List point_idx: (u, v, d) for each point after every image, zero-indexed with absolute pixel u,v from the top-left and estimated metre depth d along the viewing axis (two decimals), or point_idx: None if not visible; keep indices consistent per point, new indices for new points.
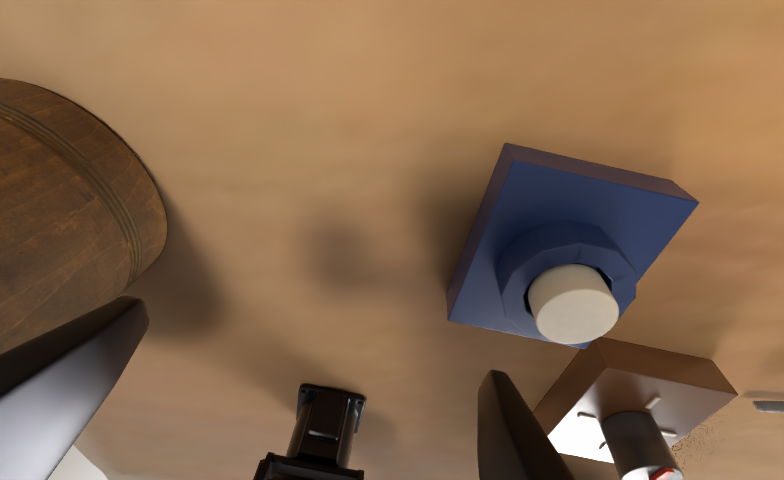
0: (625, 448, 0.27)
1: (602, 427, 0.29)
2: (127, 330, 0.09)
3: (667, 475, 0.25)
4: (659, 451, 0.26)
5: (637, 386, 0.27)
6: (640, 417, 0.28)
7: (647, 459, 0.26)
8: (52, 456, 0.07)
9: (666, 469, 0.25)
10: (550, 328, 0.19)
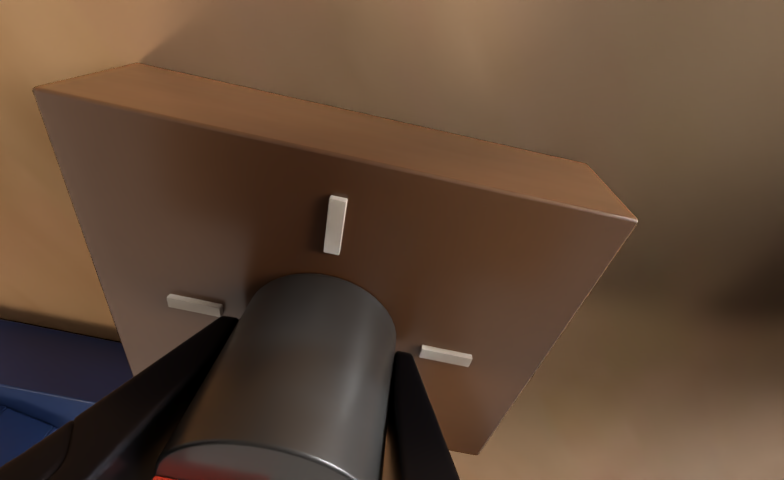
0: None
1: None
2: None
3: None
4: None
5: (159, 341, 0.11)
6: None
7: None
8: None
9: None
10: None
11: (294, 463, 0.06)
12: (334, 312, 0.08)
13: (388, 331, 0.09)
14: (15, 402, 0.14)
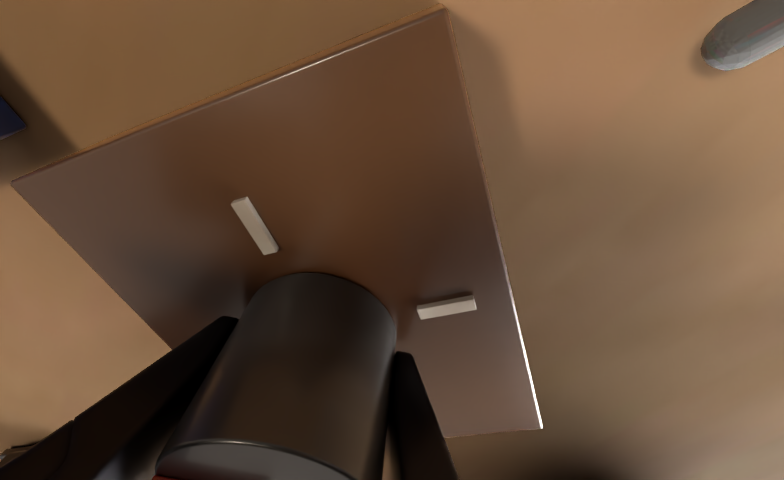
0: None
1: None
2: None
3: None
4: None
5: (148, 196, 0.08)
6: None
7: None
8: None
9: None
10: None
11: (294, 463, 0.06)
12: (334, 311, 0.08)
13: (388, 330, 0.09)
14: None
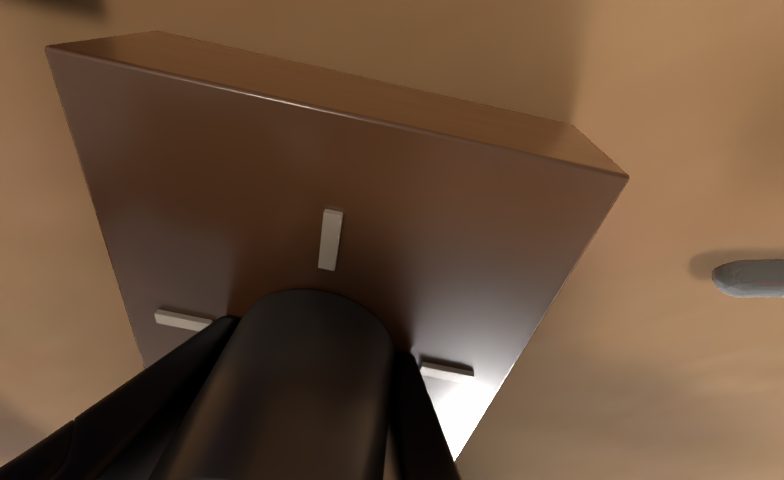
0: None
1: None
2: None
3: None
4: None
5: (231, 158, 0.07)
6: None
7: None
8: None
9: None
10: None
11: None
12: (328, 331, 0.07)
13: (386, 348, 0.08)
14: None
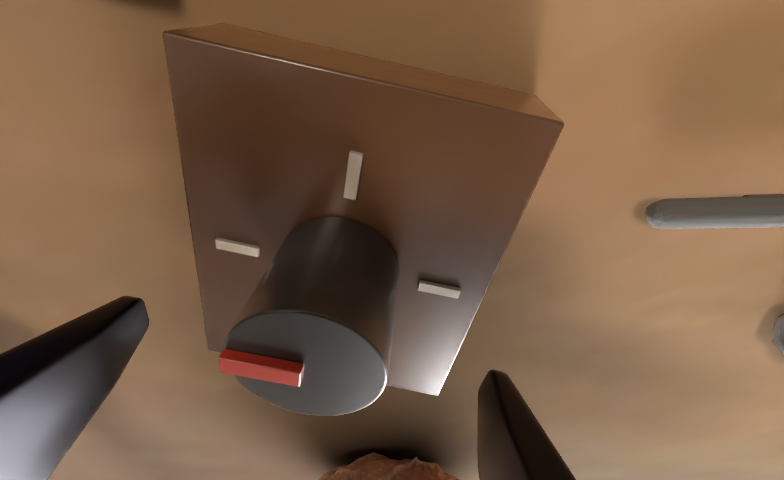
0: None
1: None
2: (127, 330, 0.09)
3: (240, 368, 0.09)
4: None
5: (285, 112, 0.09)
6: None
7: None
8: (52, 456, 0.07)
9: None
10: None
11: (328, 328, 0.08)
12: (351, 241, 0.10)
13: (393, 262, 0.11)
14: None
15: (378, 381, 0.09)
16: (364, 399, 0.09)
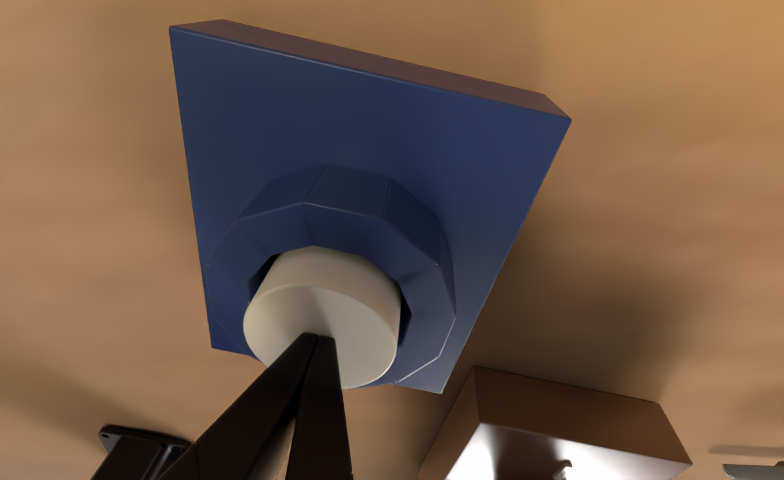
0: None
1: None
2: None
3: None
4: None
5: (533, 449, 0.17)
6: None
7: None
8: None
9: None
10: None
11: None
12: None
13: None
14: None
15: None
16: None
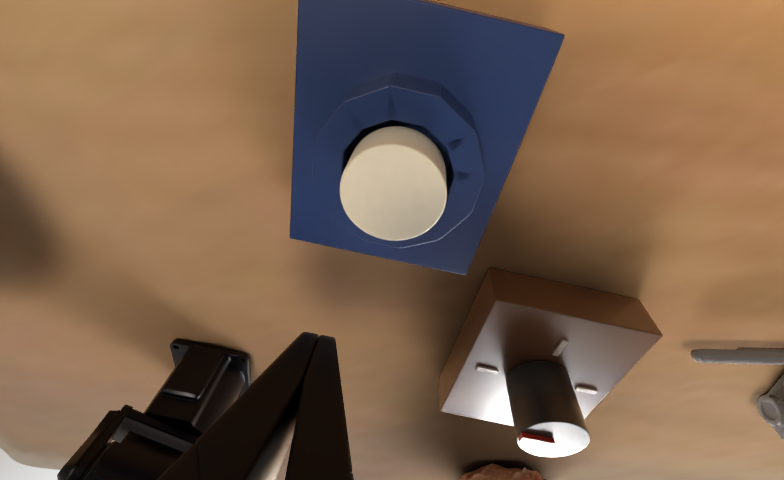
0: None
1: None
2: None
3: (529, 440, 0.21)
4: (514, 418, 0.22)
5: (537, 325, 0.21)
6: (507, 383, 0.24)
7: None
8: None
9: (519, 439, 0.21)
10: (363, 215, 0.14)
11: (573, 427, 0.20)
12: (559, 377, 0.22)
13: None
14: None
15: (583, 445, 0.21)
16: (573, 451, 0.21)
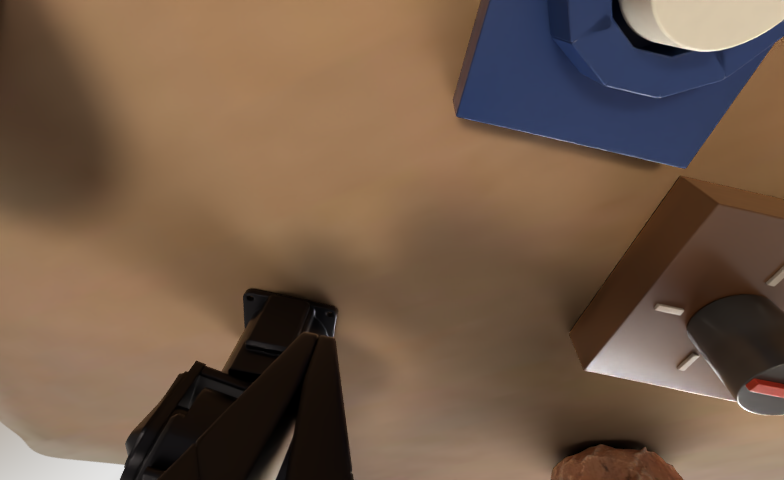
0: None
1: None
2: None
3: (766, 389, 0.16)
4: (730, 364, 0.17)
5: (762, 241, 0.17)
6: (695, 325, 0.19)
7: (730, 388, 0.17)
8: None
9: (748, 388, 0.16)
10: (680, 0, 0.09)
11: None
12: (781, 312, 0.17)
13: None
14: None
15: None
16: None
